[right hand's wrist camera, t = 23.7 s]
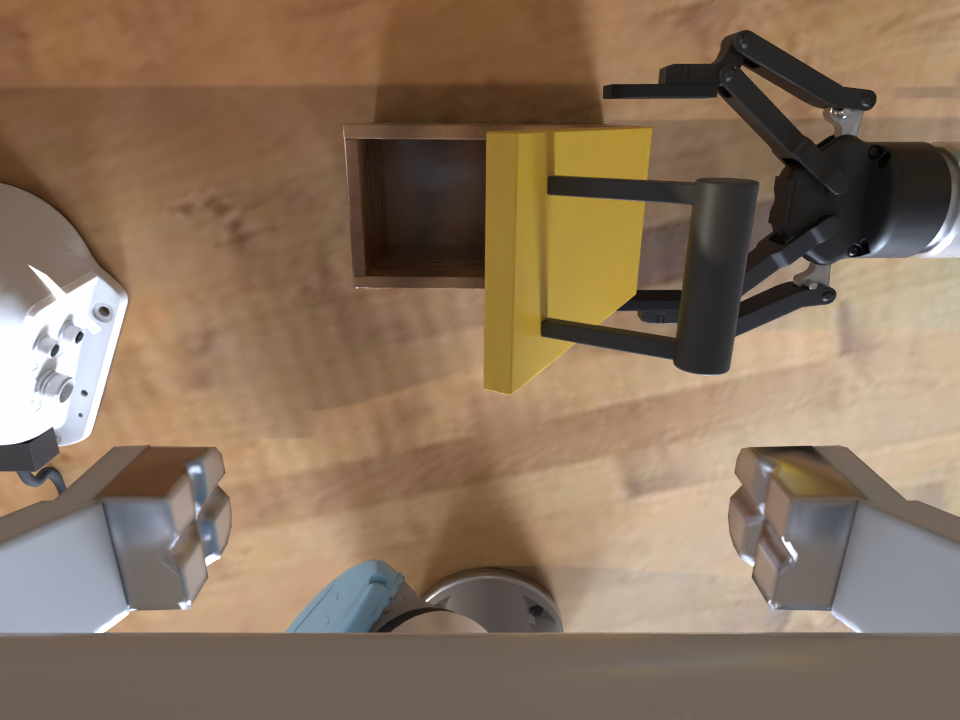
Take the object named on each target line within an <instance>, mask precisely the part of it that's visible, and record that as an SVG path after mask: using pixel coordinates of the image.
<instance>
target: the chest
mask: <svg viewBox="0 0 960 720" xmlns="http://www.w3.org/2000/svg"><path fill="white" fill-rule="evenodd" d="M598 127H628V126H625V125H610V124H545V123H418V122H370V123H353V124H343V129H344V138H345V140H344V143H345V158H346V173H347V189H348V204H349V219H350V235H351V250H352V265H353V275H354V276H353V281H354V288H403V289H485V224H486V133H487V132H488V131H506V130H537V129H567V128H598Z"/></svg>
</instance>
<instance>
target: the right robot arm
mask: <svg viewBox="0 0 960 720" xmlns="http://www.w3.org/2000/svg"><path fill="white" fill-rule="evenodd" d="M127 303H128V296H127V293H126V291H125V290H124V288H123V287H122V286H121V285H120V284H119V283H118V282H117V281H116V280H115V279H114V278H113V277H112V276H110V275H109V274H108V273H107V272H106V271H105V270H103V269H102V268H101V267H100V266H99V265H98V263H97V262H96V261H95V259H94V258H93V256H92V254H91V253H90V251H89V249H88V247H87V246H86V244H85V242H84V241H83V239H82V238H81V236H80V235H79V233H78V232H77V231H76V230H75V228H74V227H73V226H72V225H71V224H70V223H69V222H68V220H67V219H66V218H65V217H64V216H62V215H61V214H60V213H59V212H58V211H57V210H56V209H54V208H53V207H52V206H50V205H49V204H48V203H46V202H45V201H43V200H42V199H40V198H38V197H37V196H35V195H33V194H31V193H29V192H27V191H25V190H22V189H20V188H17V187H14V186H11V185H7V184H3V183H0V471H16V472H17V474H18V475H19V477H20V479H21V480H22V481H23V482H24V483H25V484H26V485H28V486H32V487H37V486H40V485H42V484H43V483H44V482H45V481H46V479H47V478H49V479H50V480H51V481H52V482H53V483H54V484H55V486H56V488H57V490H58V493H59V496H58V497H57V498H56V499H54V500H53V501H40V502H38V503H35V504H33V505H30V506H28V507H25V508H23V509H20V510H17V511H15V512H12V513H10V514H7V515H5V516H2V517H0V720H960V517H958V516H955V515H953V514H950V513H947V512H945V511H942V510H940V509H937V508H935V507H932V506H930V505H927V504H925V503H922V502H920V501H907V500H906V499H904V498H903V497H902V496H901V495H900V494H899V493H898V492H897V491H895V490H894V489H893V488H892V487H891V486H890V485H889V484H888V483H887V482H885V481H884V480H883V479H882V478H881V477H880V476H879V475H878V474H876V473H875V472H874V471H873V470H872V469H871V468H870V467H869V466H867V465H866V464H865V463H864V462H863V461H862V460H861V459H860V458H858V457H857V456H856V455H855V454H854V453H853V452H852V451H851V450H849V449H848V448H847V447H843V446H840V445H831V446H783V447H748V448H743V449H741V451H740V453H739V455H738V457H737V461H736V467H735V472H734V473H735V474H736V476H737V478H738V479H739V481H740V482H741V484H742V486H741V487H740V488H739V489H738V490H737V491H736V492H735V493H734V494H733V495H732V496H731V497H730V504H729V512H728V522H729V532H730V536H731V539H732V542H733V546H734V548H735V549H736V551H737V553H738V555H739V556H740V558H742V559H744V560H745V561H747V562H748V563H750V564H752V565H753V566H754V567H753V573H752V579H753V580H754V582H755V584H756V585H757V587H758V588H759V590H760V592H761V593H762V595H763V597H764V598H765V600H766V602H767V603H768V605H769V607H770V608H771V609H785V610H822V611H831V614H832V615H834V616H835V617H836V618H838V619H839V620H841V621H842V622H843V623H845V624H846V625H847V626H849V627H850V628H851V629H853V630H854V631H855V632H857V633H103V632H105V631H106V630H107V629H109V628H110V627H112V626H113V625H114V624H116V623H117V622H118V621H120V620H121V619H122V618H124V617H125V616H126V615H128V614H129V611H138V610H174V609H190V607H191V605H192V604H193V602H194V600H195V599H196V597H197V595H198V594H199V592H200V590H201V589H202V587H203V585H204V584H205V582H206V580H207V578H208V573H207V567H206V566H207V565H208V564H210V563H212V562H213V561H215V560H216V559H218V558H220V556H221V555H222V553H223V551H224V549H225V547H226V546H227V543H228V539H229V535H230V531H231V527H232V510H231V503H230V497H229V496H228V495H227V494H226V493H225V492H224V491H223V490H222V489H221V488H220V487H219V486H218V484H219V482H220V481H221V479H222V478H223V476H224V474H225V473H226V472H225V467H224V463H223V458H222V454H221V453H220V451H219V450H218V449H217V448H216V447H179V446H150V445H141V446H118V447H113V448H112V449H111V450H110V451H109V452H107V453H106V454H105V455H104V456H103V457H102V458H101V459H100V460H98V461H97V462H96V463H95V464H94V465H93V466H92V467H91V468H89V469H88V470H87V471H86V472H85V473H84V474H83V475H81V476H80V477H79V478H78V479H77V480H76V481H75V482H74V483H72V484H71V485H70V486H69V487H68V488H67V489H66V486H65V484H64V481H63V479H62V476H61V474H60V473H59V472H58V471H57V470H56V469H54V468H52V467H45V468H43V469H41V470H40V471H39V472H38V473H37V475H36V476H34V475H33V474H32V473H31V472H36V471H38V470H39V469H40V468H41V467H43V466H44V465H45V464H46V463H48V462H49V461H50V460H51V459H53V458H54V457H55V456H56V455H58V454H59V453H60V452H59V448H58V446H64V445H69V444H73V443H76V442H79V441H81V440H83V439H85V438H87V437H88V436H89V435H90V434H91V431H92V429H93V425H94V422H95V418H96V415H97V411H98V408H99V404H100V401H101V397H102V393H103V390H104V386H105V383H106V379H107V375H108V372H109V368H110V365H111V361H112V358H113V354H114V350H115V347H116V343H117V340H118V336H119V332H120V329H121V325H122V322H123V318H124V314H125V311H126V307H127ZM104 307H107V308H108V309H109V311H110V313H109V314H107V313H106V312H105V311H104ZM55 434H56V435H57V437H56V436H55Z"/></svg>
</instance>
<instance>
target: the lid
mask: <svg viewBox="0 0 960 720" xmlns="http://www.w3.org/2000/svg"><path fill="white" fill-rule="evenodd" d="M651 137H652V127H641V126H628V127H598V128H567V129H537V130H506V131H488V132H487V133H486V224H485V320H484V389H485V390H489V391H493V392H498V393H502V394H507V395H512V394H513V393H515V392H516V391H517V390H518V389H519V388H521V387H522V386H523V385H524V384H526V383H527V382H528V381H529V380H531V379H532V378H533V377H534V376H536V375H537V374H538V373H539V372H540V371H542V370H543V369H544V368H545V367H547V366H548V365H549V364H550V363H552V362H553V361H554V360H555V359H557V358H558V357H559V356H560V355H561V354H563V353H564V352H565V351H566V350H568V349H569V348H570V347H571V346H573V345H574V344H575V343H579V344H585V345H591V346H596V347H602V348H608V349H614V350H619V351H625V352H631V353H636V354H642V355H648V356H653V357H659V358H665V359H670V360H673V363H674V365H675V366H676V367H677V368H679V369H681V370H683V371H686V372H689V373H693V374H698V375H721V374H724V373H726V372H728V370H729V369H730V364H731V357H732V351H733V345H734V339H735V332H736V326H737V320H738V313H739V307H740V301H741V295H742V288H743V282H744V276H745V270H746V263H747V257H748V251H749V245H750V238H751V232H752V226H753V219H754V213H755V207H756V201H757V194H758V188H759V182H757V181H754V180H748V179H735V178H701V179H697V180H696V182H676V181H657V180H647V178H648V168H649V158H650V148H651ZM645 202H658V203H673V204H688V205H693V207H692V215H691V223H690V231H689V239H688V247H687V255H686V263H685V271H684V279H683V287H682V295H681V303H680V311H679V319H678V327H677V335H676V338H673V337H667V336H661V335H654V334H648V333H642V332H636V331H629V330H623V329H617V328H611V327H605V326H598V324H600V323H601V322H602V321H603V320H605V319H606V318H607V317H608V316H610V315H611V314H612V313H613V312H615V311H616V310H617V309H618V308H619V307H621V306H622V305H623V304H624V303H626V302H627V301H628V300H629V299H631V298H632V297H633V296H634V295H636V290H637V280H638V270H639V259H640V249H641V239H642V229H643V219H644V209H645Z"/></svg>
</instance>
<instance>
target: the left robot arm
mask: <svg viewBox="0 0 960 720" xmlns="http://www.w3.org/2000/svg"><path fill="white" fill-rule="evenodd" d="M741 65H743V66H745V67H746V68H748V69H750V70H751V71H753V72H755V73H756V74H758V75H760V76H762V77H763V78H765V79H767V80H768V81H770V82H772V83H773V84H775V85H777V86H779V87H780V88H782V89H784V90H785V91H787V92H789V93H790V94H792V95H794V96H796V97H797V98H799V99H801V100H802V101H804V102H806V103H808V104H810V105H812V106H815V107H818V108H822V109H825V110H824V111H823V116H824V119H825V120H826V121H827V122H829V123H831V124H832V125H833V126H834V129H835V132H834V135H831V136H829V137H827V138H826V139H824V140H823V141H821V142H820V143H819V144H817V145H815V144H814V143H813V141H811V140H810V139H809V138H807V137H805V136H804V135H802V134H801V133H800V132H799V130H798V129H797V128H796V127H795V126H794V125H793V124H792V123H791V122H790V121H789V120H788V119H787V118H786V117H785V116H784V115H783V114H782V113H781V111H780V110H779V109H778V108H777V107H776V106H775V105H774V104H773V103H772V102H771V101H770V100H769V99H768V98H767V97H766V96H765V95H764V94H763V92H762V91H761V90H760V89H759V88H758V87H757V86H756V85H755V84H754V83H753V82H752V81H751V80H750V79H749V78H748V77H747V76H746V75H745V73H744V72H743V71H742V70H741V69H740V67H741ZM717 93H718V94H719V95H720V96H721V97H722V98H723V99H724V100H725V101H726V102H727V103H728V104H729V105H730V106H731V107H732V108H733V109H734V110H735V111H736V112H737V113H738V114H739V115H740V117H741V118H742V119H743V120H744V121H745V122H746V123H747V124H748V125H749V126H750V127H751V128H752V129H753V130H754V131H755V132H756V133H757V134H758V135H759V136H760V137H761V138H762V139H763V140H764V141H765V142H766V143H767V144H768V145H769V146H770V147H771V149H772V152H773V153H774V154H775V155H776V156H777V158H778V159H779V160H780V161H781V162H782V163H783V164H784V165H785V168H784V169H783V170H782V171H781V173H780V175H779V176H776V178H775V184H774V193H775V201H774V204H773V206H772V208H771V211H770V216H769V223H771V224H772V228H773V232H771V233H770V234H769V235H768V236H766V237H765V238H764V239H762V240H761V241H760V242H759V243H758V244H757V247H756V248H755V249H754V250H752V251H751V252H750V253H748V257H747V263H746V270H745V276H744V282H743V288H742V295H744V294H745V293H746V292H748V291H749V290H751V289H752V288H753V287H755V286H756V285H757V284H759V283H760V282H761V281H763V280H764V279H766V278H767V277H768V276H770V275H771V274H772V273H774V272H775V271H776V270H778V269H779V268H781V267H786V266H788V265H790V264H792V263H793V262H794V261H796V260H797V259H798V258H800V257H801V256H802V257H804V258H805V259H806V260H808V261H810V265H809V267H808V269H807V270H805V271H804V272H801V273H799V274H796V275H795V276H794V277H793V280H794V281H791V282H786V283H783V284H780V285H777V286H775V287H773V288H770V289H768V290H766V291H764V292H762V293H759V294H757V295H755V296H753V297H750V298H748V299H746V300H744V301H742V302H740V307H739V313H738V320H737V326H736V332H735V337H736V336H738V335H740V334H743V333H745V332H747V331H749V330H752V329H754V328H756V327H758V326H761V325H763V324H765V323H767V322H770V321H772V320H774V319H776V318H779V317H781V316H783V315H785V314H788V313H790V312H792V311H794V310H797V309H799V308H801V307H807V306H816V305H825V304H830V303H831V302H833V301H834V299H835V298H836V291H835V290H834V289H833V288H831V287H829V279H830V267H831V264H832V263H834V262H836V261H838V260H841V259H845V258H906V257H910V256H914V257H917V258H939V257H960V142H935V143H931V144H929V143H926V142H865V141H862V140H860V139H859V138H858V137H856V135H857V132H858V129H859V126H860V122H861V119H862V116H863V113H864V111H868V110H870V109H871V108H872V107H873V106H874V105H875V103H876V98H877V97H876V94H875V93H874V92H873V91H871V90H865V89H857V88H849V87H843V86H841V85H840V84H838V83H836V82H835V81H833V80H831V79H830V78H828V77H826V76H825V75H823V74H821V73H820V72H818V71H816V70H815V69H813V68H811V67H810V66H808V65H806V64H805V63H803V62H801V61H800V60H798V59H796V58H795V57H793V56H791V55H790V54H788V53H786V52H785V51H783V50H781V49H780V48H778V47H776V46H775V45H773V44H771V43H770V42H768V41H766V40H765V39H763V38H761V37H760V36H758V35H756V34H755V33H753V32H751V31H749V30H744V31H740V32H737V33H734V34H731V35H728V36H726V37H725V38H724V39H723V40H722V43H721V50H720V52H719V54H718V56H717V58H716V60H715V61H714V62H713V63H711V64H672V65H669V66H666V67H664V68H661V69H660V71H659V82H658V84H611V85H607V86H603V99H690V98H714V97H717ZM681 295H682V291H681V290H636V295H634V296H633V297H632V298H631V299H629V300H628V301H627V302H626V303H624V304H623V305H622V306H621V307H619V308H618V309H617V310H616V311H638V317H639V318H640V319H641V320H642V321H643V322H646V323H648V324H662V323H663V324H678V319H679V311H680V303H681ZM742 295H741V296H742ZM285 633H563V628H562V622H561V617H560V613H559V610H558V608H557V606H556V604H555V602H554V600H553V599H552V597H551V596H550V595H549V594H548V593H547V592H546V591H545V590H544V589H543V588H542V587H541V586H540V585H538V584H537V583H536V582H534V581H532V580H531V579H529V578H527V577H525V576H523V575H520V574H518V573H514V572H511V571H507V570H502V569H492V568H481V569H471V570H466V571H462V572H459V573H456V574H453V575H451V576H448V577H446V578H444V579H442V580H441V581H439V582H437V583H436V584H435V585H433V586H432V587H431V588H430V589H429V590H428V591H427V592H426V593H425V594H424V595H423V596H422V597H420V596H419V595H418V594H417V593H415V592H414V591H413V590H412V589H411V587H410V586H409V585H408V584H407V583H406V582H405V581H404V576H403V575H402V573H397V572H396V571H395V570H394V569H393V568H391V567H390V566H389V565H388V564H387V563H385V562H384V561H381V560H369V561H365V562H362V563H360V564H357V565H355V566H353V567H352V568H350V569H348V570H347V571H345V572H344V573H342V574H341V575H340V576H339V577H337V578H336V579H335V580H333V581H332V582H331V583H330V584H329V585H327V586H326V587H325V588H324V589H323V590H322V591H321V592H320V593H319V594H318V595H317V596H316V597H315V598H314V599H313V600H312V601H311V602H310V603H309V604H308V605H307V606H306V607H305V608H304V609H303V611H302V612H301V613H300V614H299V615H298V616H297V618H296V619H295V620H294V621H293V623H292V624H291V625H290V627H289V628H288V629H287V631H286V632H285Z"/></svg>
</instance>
